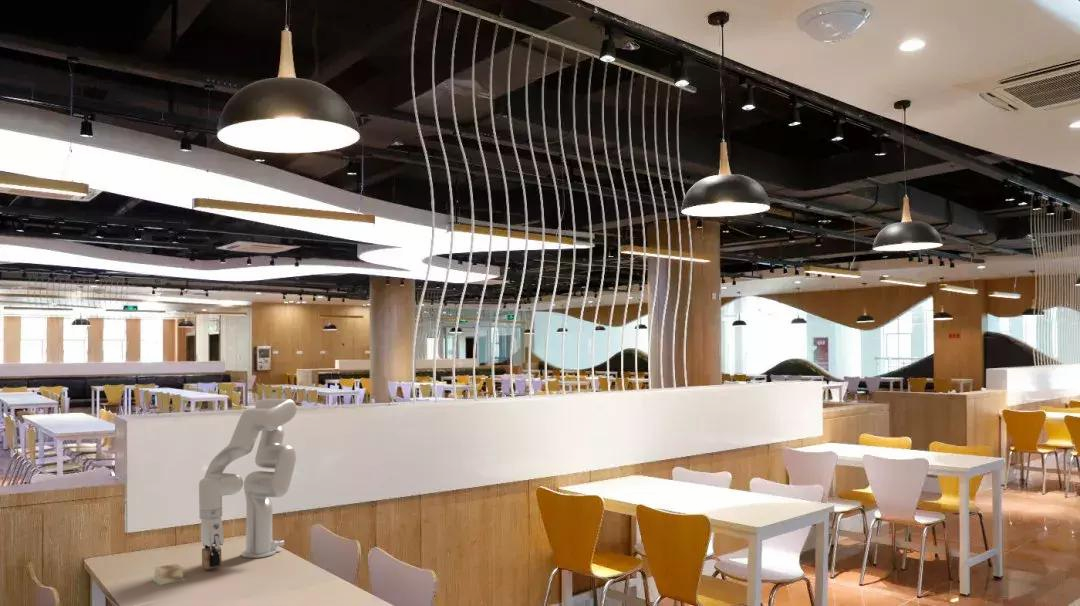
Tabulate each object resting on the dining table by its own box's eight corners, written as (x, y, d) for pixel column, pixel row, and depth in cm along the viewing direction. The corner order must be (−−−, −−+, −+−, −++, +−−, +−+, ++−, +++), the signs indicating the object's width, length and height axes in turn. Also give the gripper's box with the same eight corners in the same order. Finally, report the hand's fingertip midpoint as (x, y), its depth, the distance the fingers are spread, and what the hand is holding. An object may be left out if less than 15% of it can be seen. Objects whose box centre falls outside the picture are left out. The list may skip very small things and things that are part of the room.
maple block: (176, 575, 271) (176, 563, 271) (182, 579, 265) (183, 567, 266) (154, 579, 266) (154, 567, 266) (161, 583, 261) (161, 571, 261)
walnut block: (216, 562, 280) (216, 545, 280) (221, 565, 277) (221, 548, 277) (202, 565, 277) (201, 548, 277) (207, 568, 273) (206, 551, 273)
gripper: (230, 515, 273) (231, 567, 273) (212, 507, 286) (213, 556, 286) (208, 519, 268) (209, 572, 268) (191, 510, 281) (192, 561, 281)
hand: (211, 563), depth 277 cm, fingers closed on walnut block, 4 cm apart
